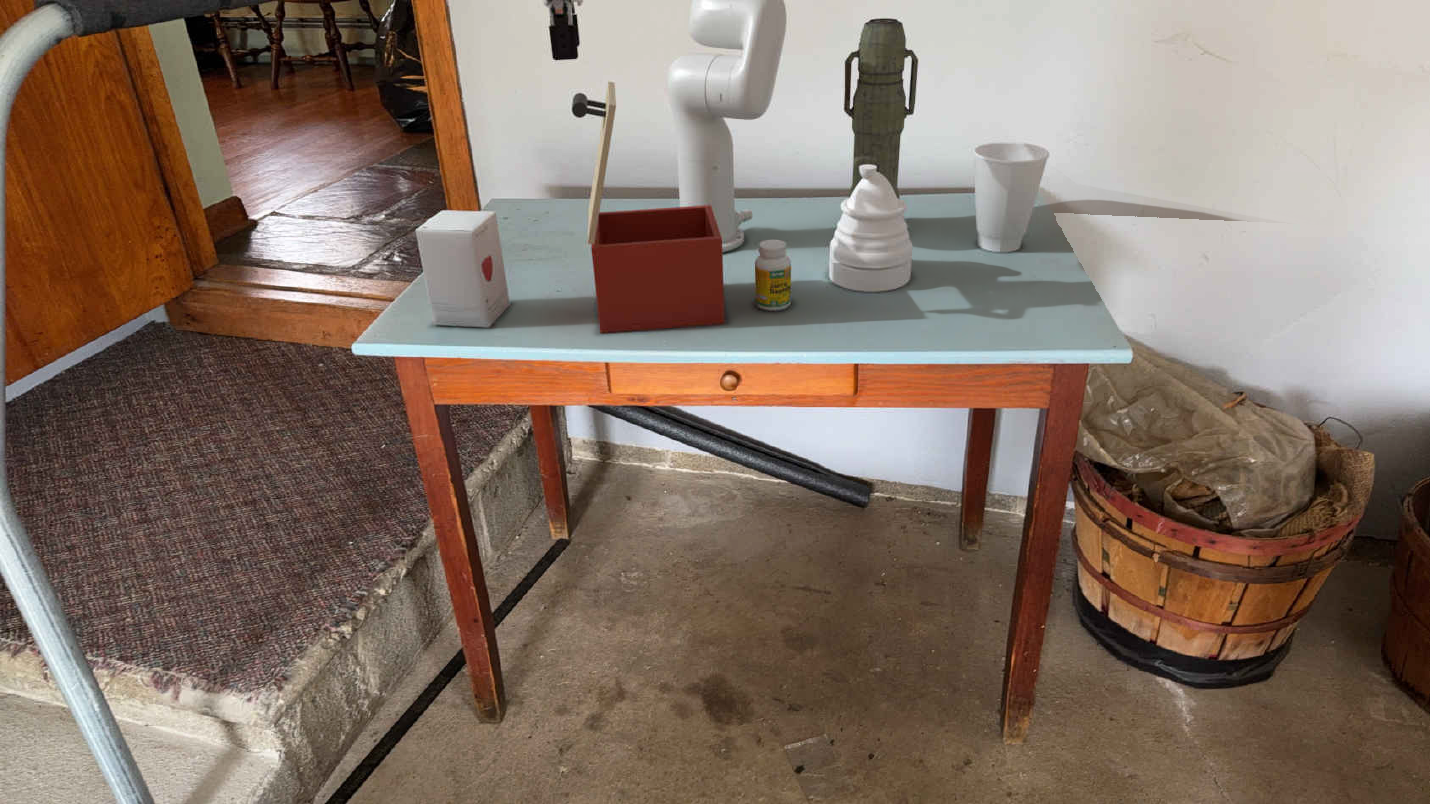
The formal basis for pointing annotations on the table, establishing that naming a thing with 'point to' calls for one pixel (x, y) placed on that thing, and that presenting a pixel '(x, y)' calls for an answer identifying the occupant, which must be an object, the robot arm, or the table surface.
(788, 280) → the supplement bottle
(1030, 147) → the cup
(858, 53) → the olive green vase
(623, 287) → the red open box
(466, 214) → the rectangular carton
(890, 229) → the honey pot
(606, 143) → the lid
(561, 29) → the robot arm
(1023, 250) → the table surface
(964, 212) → the table surface
